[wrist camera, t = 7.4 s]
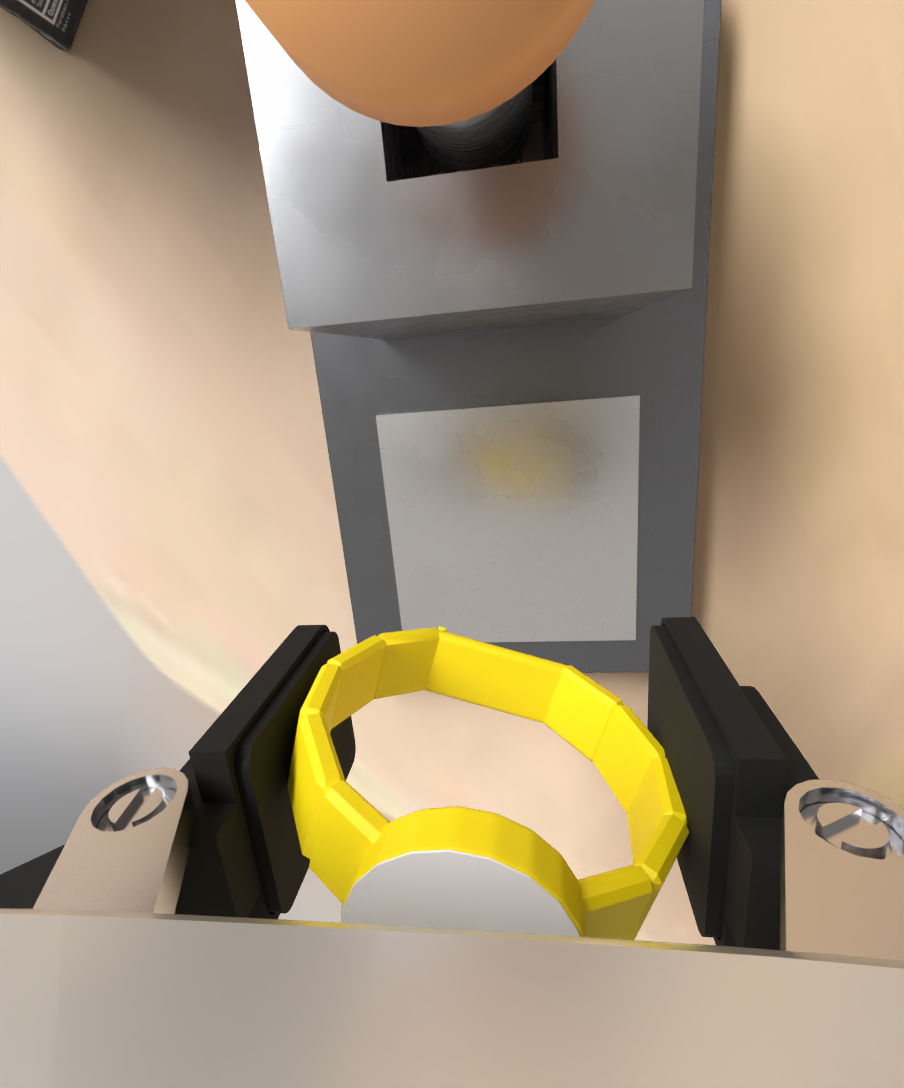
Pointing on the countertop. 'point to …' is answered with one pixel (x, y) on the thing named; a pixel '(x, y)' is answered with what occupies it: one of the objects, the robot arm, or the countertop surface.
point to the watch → (473, 835)
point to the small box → (49, 17)
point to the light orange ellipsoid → (431, 65)
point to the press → (511, 339)
